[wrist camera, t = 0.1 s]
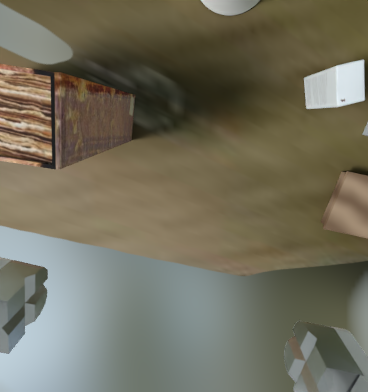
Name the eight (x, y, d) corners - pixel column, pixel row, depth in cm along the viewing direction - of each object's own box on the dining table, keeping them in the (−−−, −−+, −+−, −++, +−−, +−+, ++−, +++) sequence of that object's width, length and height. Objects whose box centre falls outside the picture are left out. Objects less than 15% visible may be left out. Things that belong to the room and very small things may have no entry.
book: (16, 122, 54) (-183, 131, 26) (14, 75, 51) (-215, 28, 23) (132, 140, 54) (59, 170, 26) (136, 94, 51) (58, 71, 23)
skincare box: (327, 104, 50) (365, 101, 38) (305, 109, 50) (336, 108, 39) (326, 71, 48) (365, 58, 37) (303, 76, 49) (334, 65, 37)
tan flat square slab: (340, 168, 54) (348, 171, 51) (399, 181, 54) (410, 185, 51) (317, 223, 58) (324, 228, 55) (373, 234, 58) (381, 241, 55)
